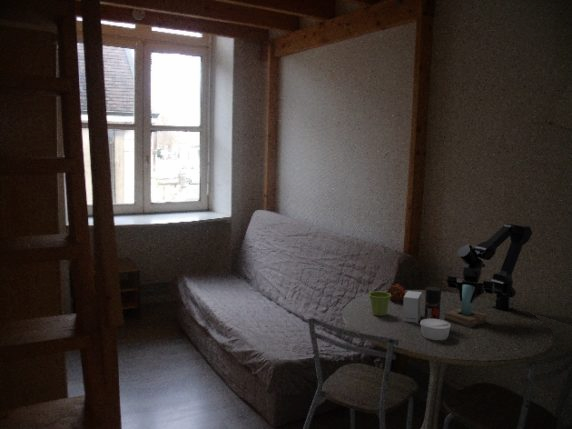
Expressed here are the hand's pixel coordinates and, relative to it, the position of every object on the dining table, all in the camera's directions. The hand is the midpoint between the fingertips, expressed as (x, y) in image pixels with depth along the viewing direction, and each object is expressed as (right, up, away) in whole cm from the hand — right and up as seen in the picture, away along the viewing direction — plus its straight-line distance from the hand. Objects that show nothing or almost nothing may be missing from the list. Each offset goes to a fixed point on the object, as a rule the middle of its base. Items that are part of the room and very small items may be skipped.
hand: (465, 301), depth 215 cm
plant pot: (-34, -7, +10) cm, 36 cm away
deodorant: (-15, -9, -3) cm, 18 cm away
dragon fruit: (-23, -5, +31) cm, 38 cm away
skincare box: (-21, -8, +4) cm, 23 cm away
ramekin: (-18, -11, -17) cm, 26 cm away
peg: (+1, -6, +2) cm, 7 cm away
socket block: (+1, -8, +2) cm, 9 cm away
